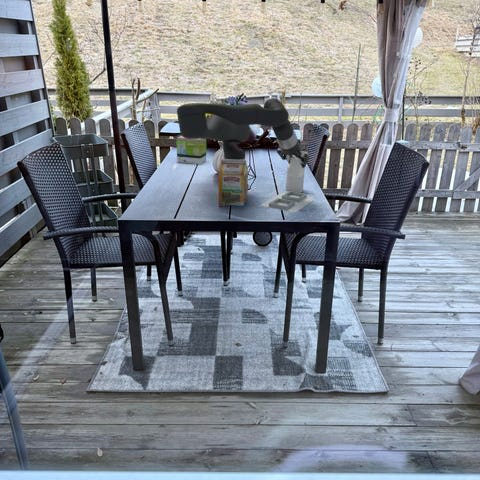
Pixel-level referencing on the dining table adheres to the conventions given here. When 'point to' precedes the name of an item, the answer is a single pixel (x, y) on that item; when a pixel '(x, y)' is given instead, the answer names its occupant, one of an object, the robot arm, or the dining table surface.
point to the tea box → (191, 150)
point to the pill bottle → (294, 182)
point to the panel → (288, 201)
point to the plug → (295, 168)
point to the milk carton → (233, 182)
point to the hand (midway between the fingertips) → (298, 165)
